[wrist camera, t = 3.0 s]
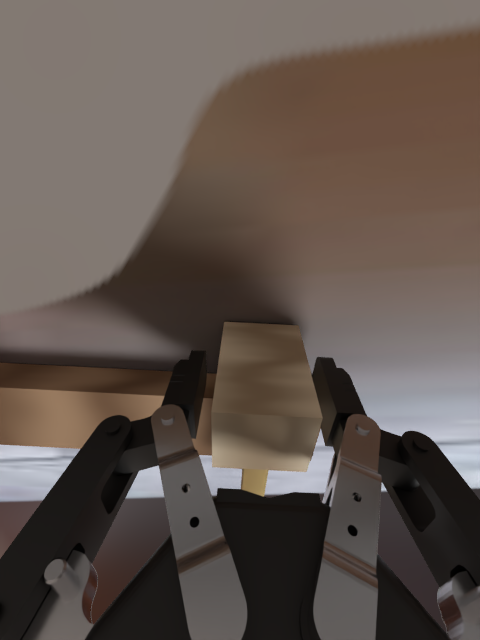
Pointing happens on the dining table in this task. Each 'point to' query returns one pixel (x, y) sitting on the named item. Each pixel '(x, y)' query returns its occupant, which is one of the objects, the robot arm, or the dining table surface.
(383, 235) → the dining table surface
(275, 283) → the dining table surface
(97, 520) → the robot arm
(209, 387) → the board
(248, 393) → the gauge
